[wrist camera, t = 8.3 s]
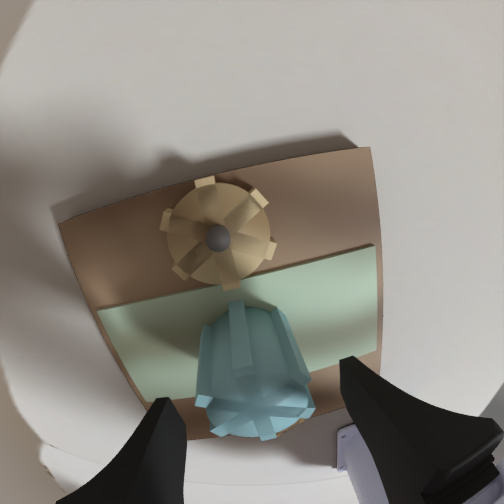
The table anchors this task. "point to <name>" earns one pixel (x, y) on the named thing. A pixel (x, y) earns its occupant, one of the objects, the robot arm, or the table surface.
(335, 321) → the gear board
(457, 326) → the table surface
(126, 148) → the table surface
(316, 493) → the table surface
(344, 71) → the table surface
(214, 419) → the teal gear
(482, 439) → the robot arm
